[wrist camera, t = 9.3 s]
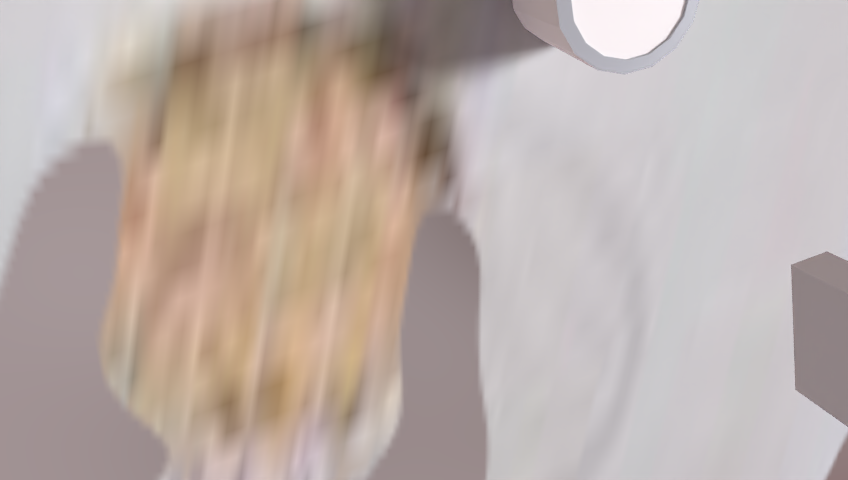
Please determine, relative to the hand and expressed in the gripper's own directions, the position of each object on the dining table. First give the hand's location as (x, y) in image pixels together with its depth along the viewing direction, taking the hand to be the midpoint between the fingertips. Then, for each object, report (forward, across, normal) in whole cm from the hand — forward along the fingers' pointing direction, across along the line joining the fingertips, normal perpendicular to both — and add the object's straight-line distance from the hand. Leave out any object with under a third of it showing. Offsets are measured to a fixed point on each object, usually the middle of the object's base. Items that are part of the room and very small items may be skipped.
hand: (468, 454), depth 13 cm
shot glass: (+27, +16, +3) cm, 32 cm away
